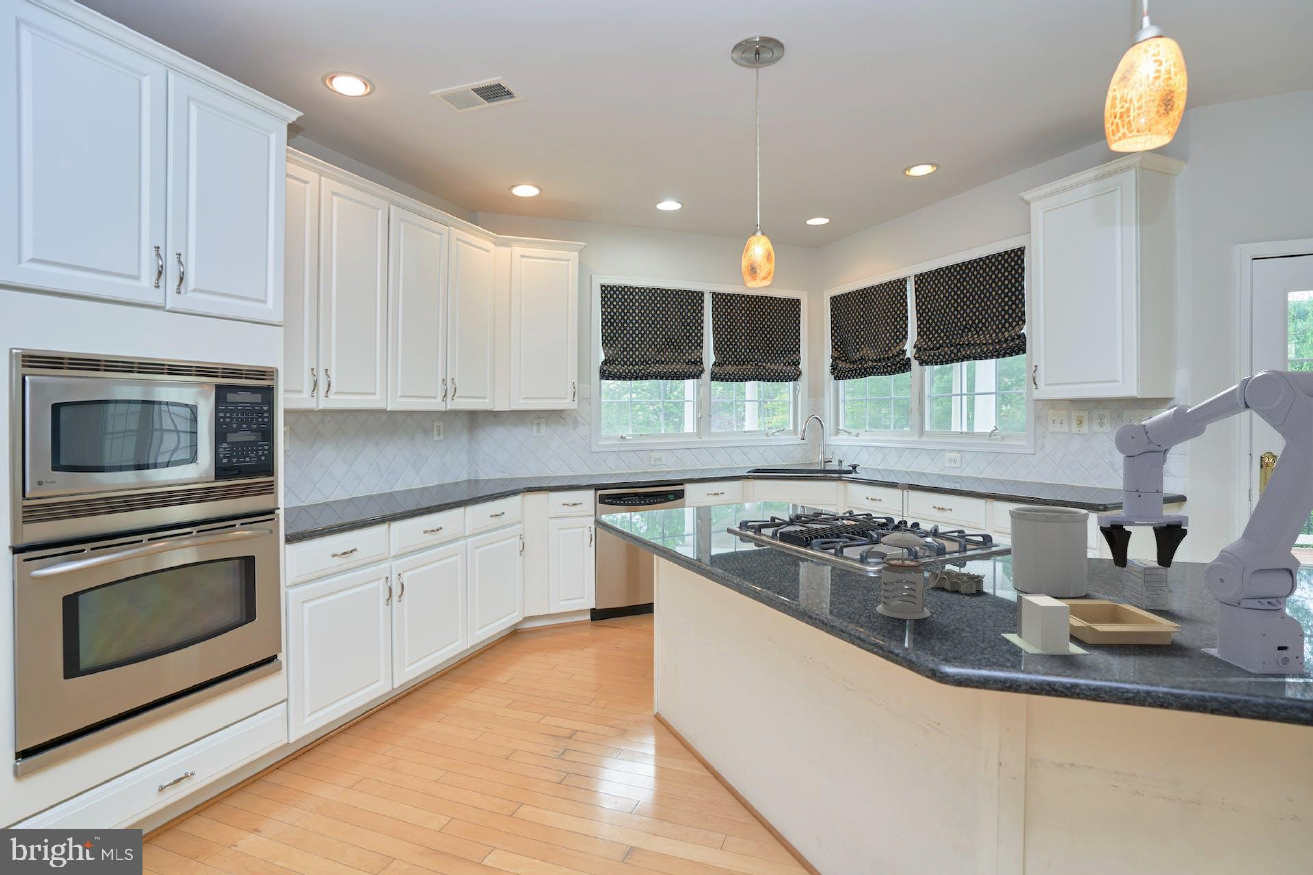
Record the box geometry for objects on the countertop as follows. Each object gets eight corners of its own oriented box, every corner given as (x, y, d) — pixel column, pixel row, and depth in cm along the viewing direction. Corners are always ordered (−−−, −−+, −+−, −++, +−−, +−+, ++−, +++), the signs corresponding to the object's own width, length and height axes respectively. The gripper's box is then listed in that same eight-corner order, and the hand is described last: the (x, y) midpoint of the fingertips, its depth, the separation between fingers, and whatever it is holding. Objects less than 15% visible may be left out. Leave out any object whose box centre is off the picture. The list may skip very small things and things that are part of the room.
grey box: (1069, 650, 100) (1069, 605, 100) (1040, 650, 100) (1041, 605, 100) (1043, 635, 107) (1043, 593, 107) (1017, 635, 107) (1017, 593, 107)
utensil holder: (993, 584, 143) (993, 507, 142) (1041, 578, 148) (1041, 503, 148) (1054, 601, 129) (1055, 515, 129) (1105, 594, 134) (1106, 511, 134)
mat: (1089, 656, 99) (1089, 653, 99) (1030, 656, 99) (1030, 652, 99) (1055, 637, 108) (1055, 633, 108) (1000, 637, 108) (1000, 633, 108)
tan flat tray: (1196, 651, 100) (1196, 630, 100) (1085, 651, 101) (1085, 629, 101) (1117, 617, 118) (1117, 599, 118) (1024, 616, 119) (1024, 598, 119)
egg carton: (923, 586, 143) (923, 568, 143) (943, 581, 147) (942, 563, 147) (969, 596, 134) (969, 577, 134) (988, 591, 138) (988, 572, 138)
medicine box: (1169, 612, 122) (1169, 567, 121) (1142, 610, 123) (1143, 566, 122) (1146, 600, 129) (1146, 558, 129) (1121, 599, 130) (1121, 557, 130)
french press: (881, 601, 130) (881, 479, 129) (943, 609, 124) (943, 481, 124) (870, 614, 122) (870, 483, 121) (936, 623, 116) (937, 486, 115)
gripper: (1167, 488, 118) (1166, 561, 118) (1086, 488, 118) (1086, 561, 118) (1198, 492, 111) (1197, 570, 111) (1112, 492, 111) (1112, 570, 111)
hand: (1142, 566), depth 114 cm, fingers open, 7 cm apart
